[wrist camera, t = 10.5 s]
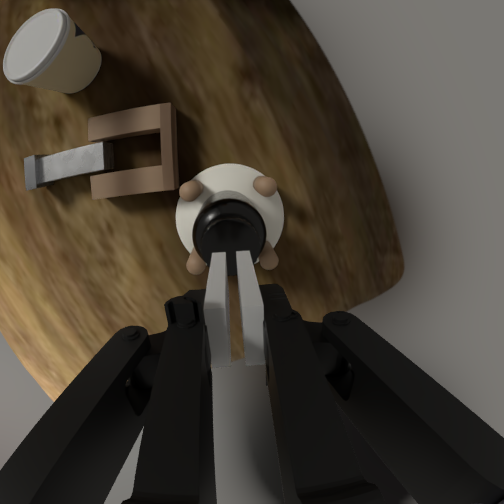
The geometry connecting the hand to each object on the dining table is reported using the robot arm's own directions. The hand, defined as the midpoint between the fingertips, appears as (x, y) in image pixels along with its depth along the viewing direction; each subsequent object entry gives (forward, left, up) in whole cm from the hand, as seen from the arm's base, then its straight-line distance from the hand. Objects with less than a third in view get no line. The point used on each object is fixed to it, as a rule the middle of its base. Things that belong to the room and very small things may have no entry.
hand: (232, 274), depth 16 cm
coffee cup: (-23, -20, -19) cm, 36 cm away
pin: (-9, -20, -18) cm, 28 cm away
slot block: (-9, -11, -18) cm, 23 cm away
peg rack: (0, 0, -18) cm, 18 cm away
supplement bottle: (0, 0, -18) cm, 18 cm away
